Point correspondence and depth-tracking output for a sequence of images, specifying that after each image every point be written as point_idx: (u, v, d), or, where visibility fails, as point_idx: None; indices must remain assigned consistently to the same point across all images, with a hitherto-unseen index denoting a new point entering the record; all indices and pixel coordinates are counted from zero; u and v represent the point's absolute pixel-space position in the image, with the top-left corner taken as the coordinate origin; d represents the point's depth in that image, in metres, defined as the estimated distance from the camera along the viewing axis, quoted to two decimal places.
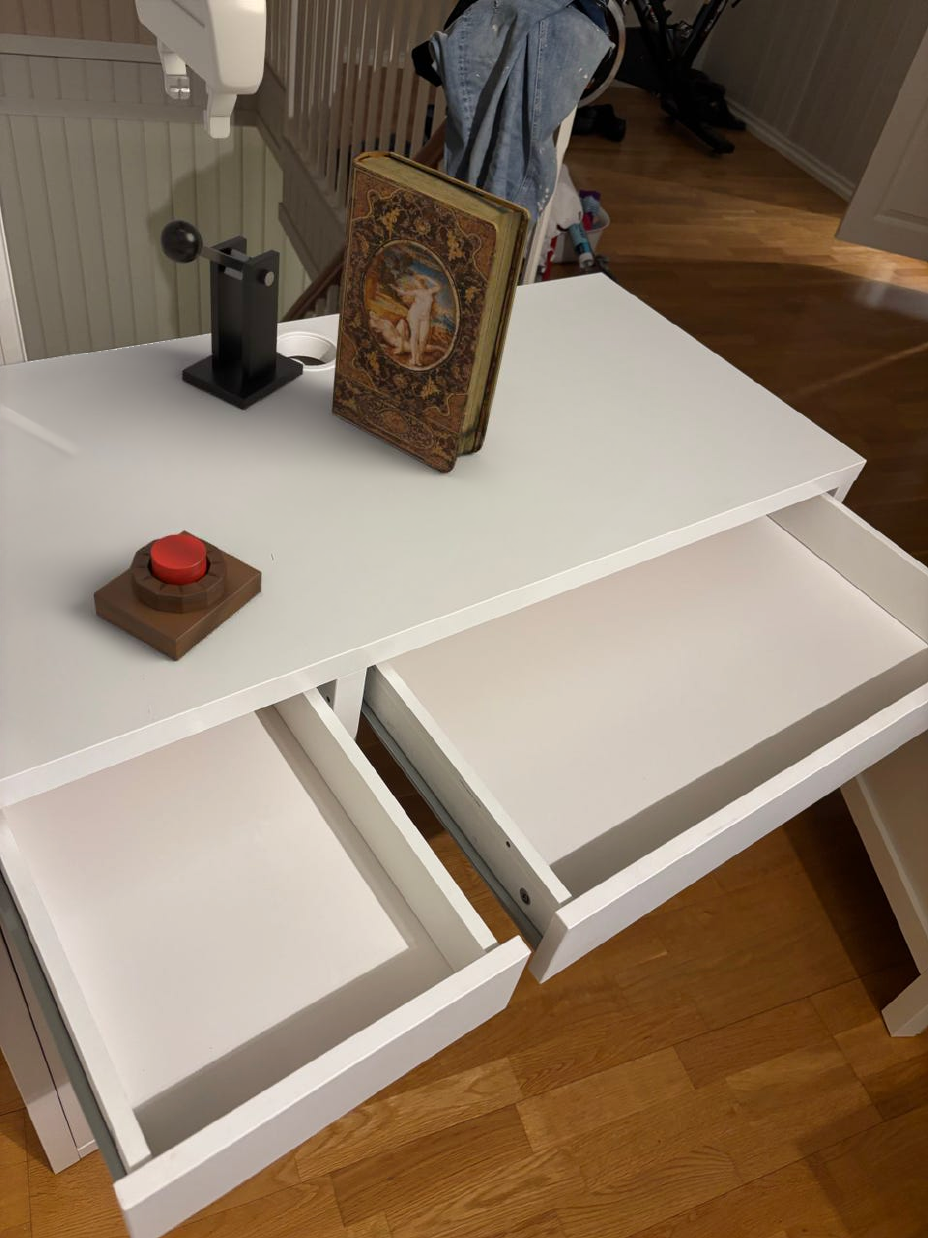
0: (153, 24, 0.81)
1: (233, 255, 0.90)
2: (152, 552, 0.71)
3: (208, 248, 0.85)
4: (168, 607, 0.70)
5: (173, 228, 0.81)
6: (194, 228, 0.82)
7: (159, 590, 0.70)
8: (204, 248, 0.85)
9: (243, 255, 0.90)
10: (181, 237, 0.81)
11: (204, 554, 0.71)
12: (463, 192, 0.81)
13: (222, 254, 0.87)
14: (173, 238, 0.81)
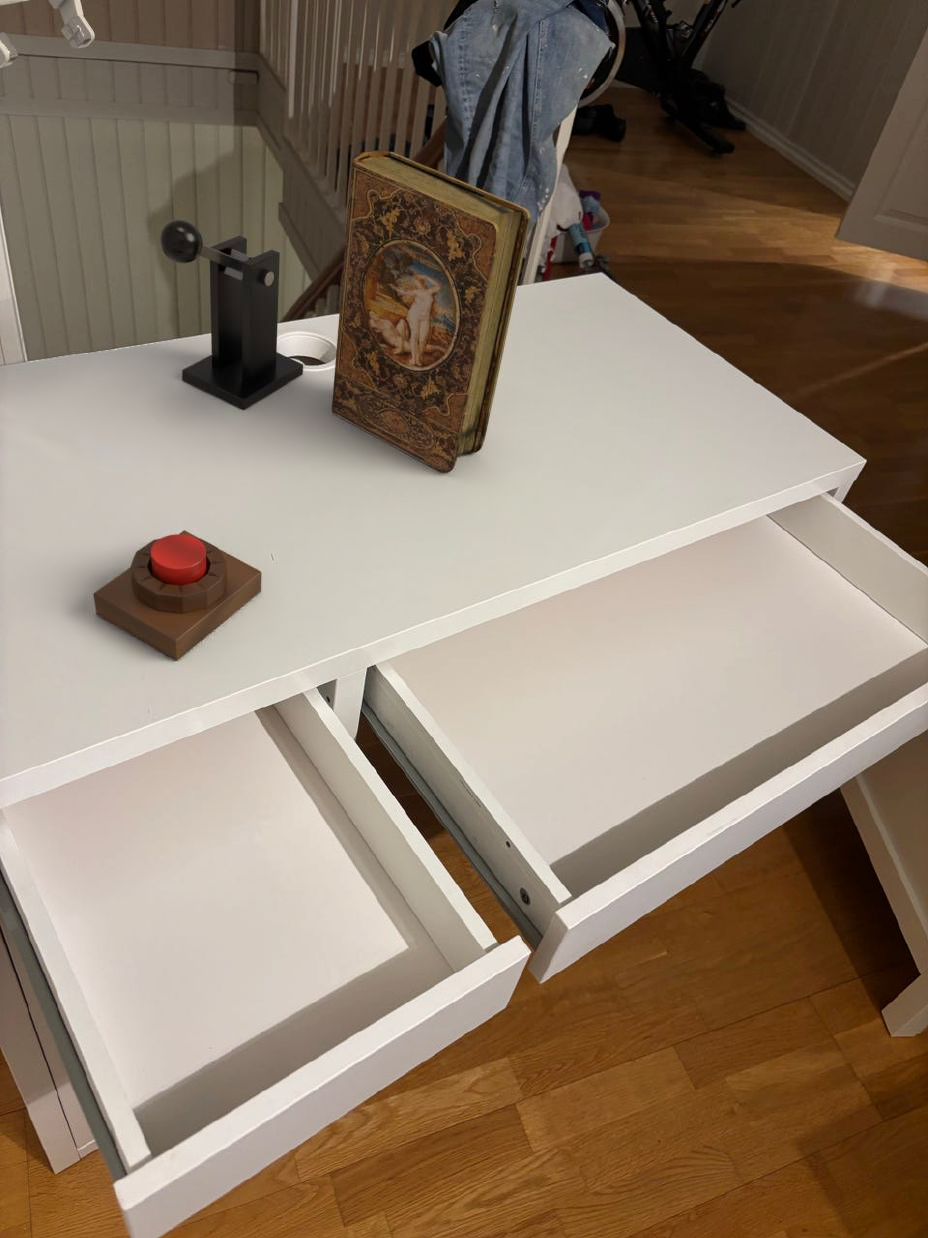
0: None
1: (233, 255, 0.90)
2: (152, 552, 0.71)
3: (208, 248, 0.85)
4: (168, 607, 0.70)
5: (173, 228, 0.81)
6: (194, 228, 0.82)
7: (159, 590, 0.70)
8: (204, 248, 0.85)
9: (243, 255, 0.90)
10: (181, 237, 0.81)
11: (204, 554, 0.71)
12: (463, 192, 0.81)
13: (222, 254, 0.87)
14: (173, 238, 0.81)
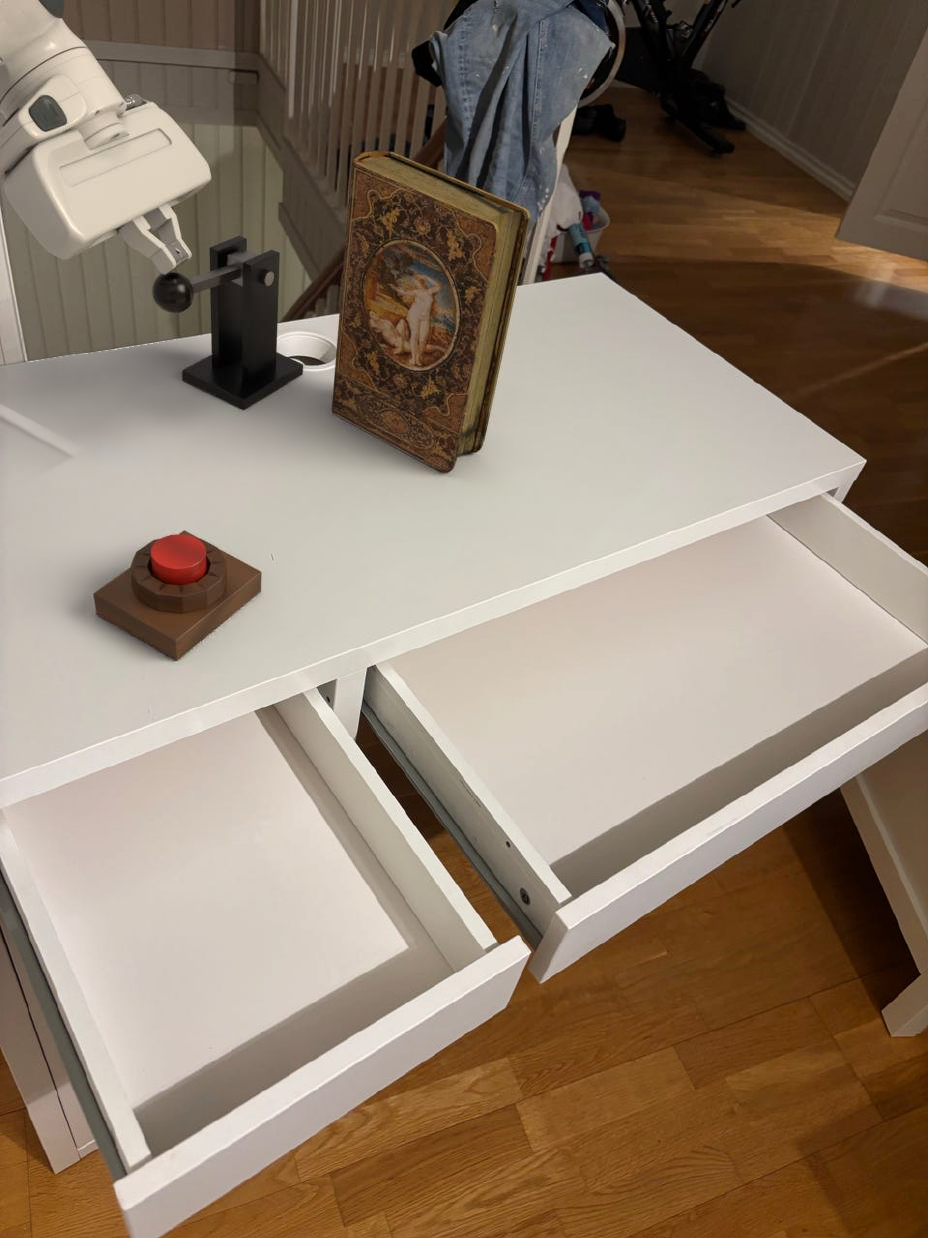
0: None
1: (230, 262, 0.90)
2: (152, 552, 0.71)
3: (201, 282, 0.86)
4: (168, 607, 0.70)
5: (161, 289, 0.83)
6: (180, 280, 0.83)
7: (159, 590, 0.70)
8: (197, 285, 0.86)
9: (239, 262, 0.90)
10: (170, 296, 0.83)
11: (204, 554, 0.71)
12: (463, 192, 0.81)
13: (217, 277, 0.88)
14: (163, 298, 0.83)
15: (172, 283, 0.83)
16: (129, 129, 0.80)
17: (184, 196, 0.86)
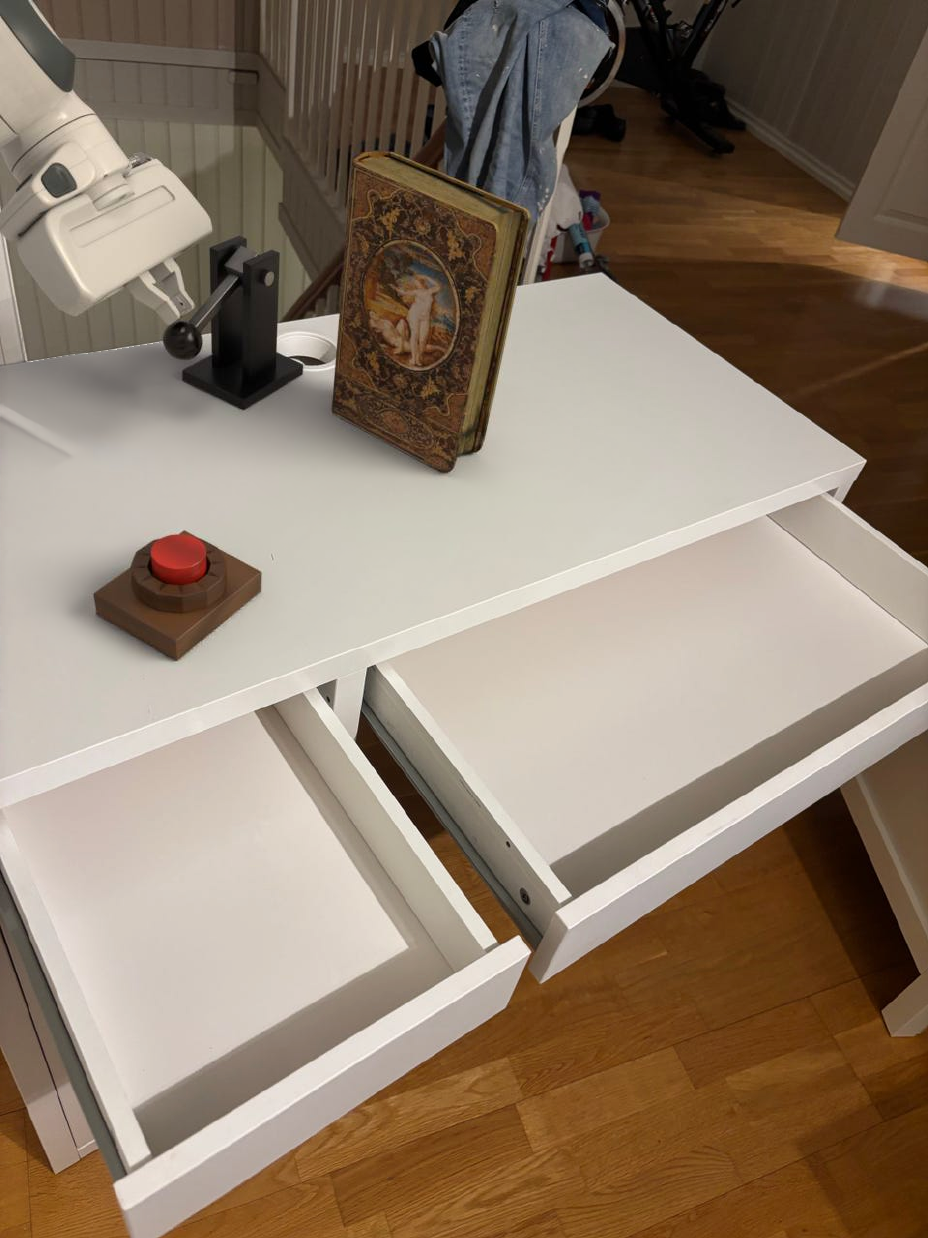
0: None
1: (229, 270, 0.91)
2: (152, 552, 0.71)
3: (205, 316, 0.89)
4: (168, 607, 0.70)
5: (170, 348, 0.87)
6: (185, 335, 0.87)
7: (159, 590, 0.70)
8: (202, 322, 0.89)
9: (236, 271, 0.90)
10: (180, 352, 0.88)
11: (204, 554, 0.71)
12: (463, 192, 0.81)
13: (219, 300, 0.90)
14: (175, 355, 0.88)
15: (178, 341, 0.87)
16: (134, 188, 0.84)
17: (187, 248, 0.90)
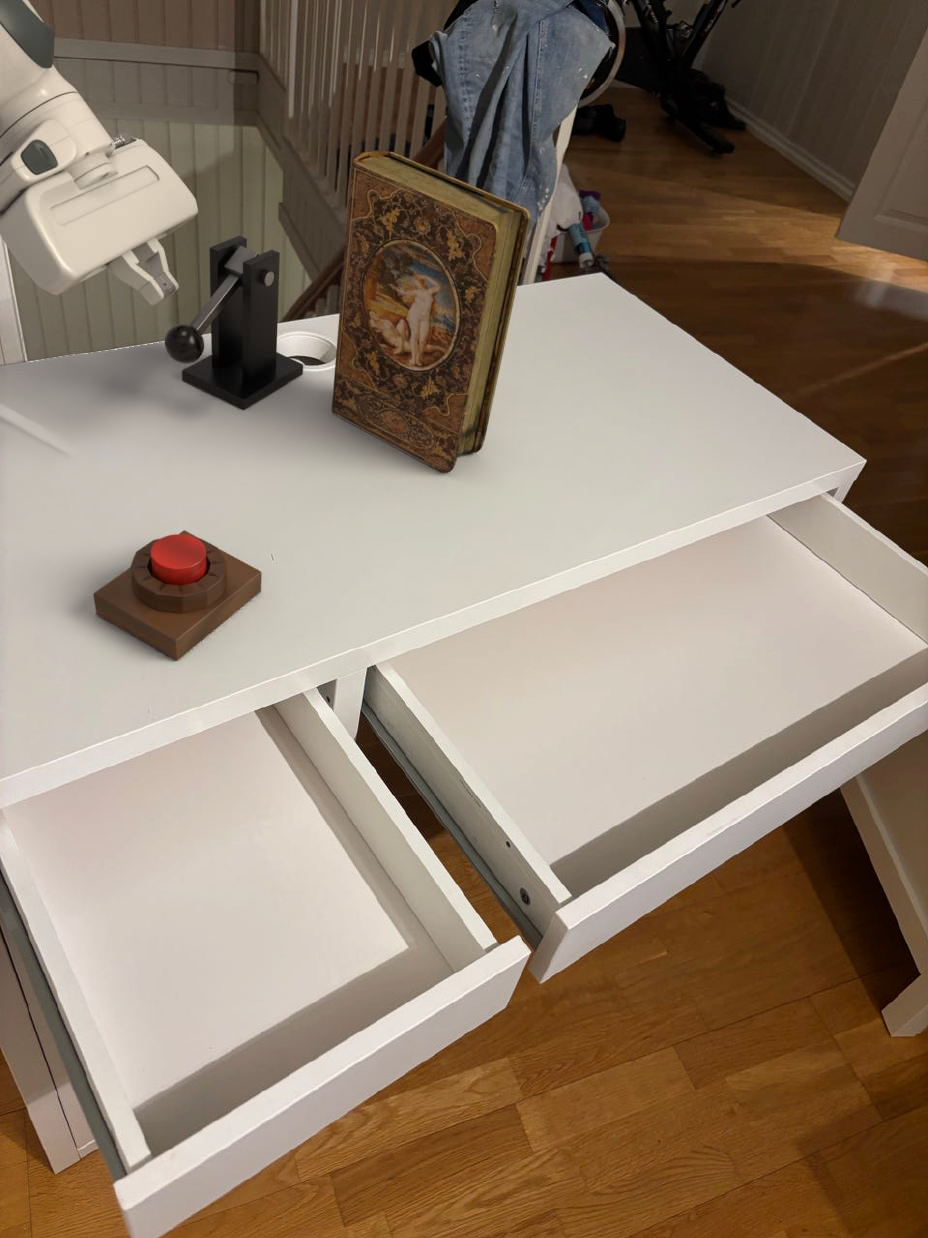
0: None
1: (229, 271, 0.91)
2: (152, 552, 0.71)
3: (206, 319, 0.89)
4: (168, 607, 0.70)
5: (172, 352, 0.88)
6: (186, 339, 0.87)
7: (159, 590, 0.70)
8: (204, 324, 0.89)
9: (236, 272, 0.90)
10: (182, 356, 0.88)
11: (204, 554, 0.71)
12: (463, 192, 0.81)
13: (220, 302, 0.90)
14: (178, 359, 0.88)
15: (179, 345, 0.87)
16: (118, 168, 0.84)
17: (172, 229, 0.90)
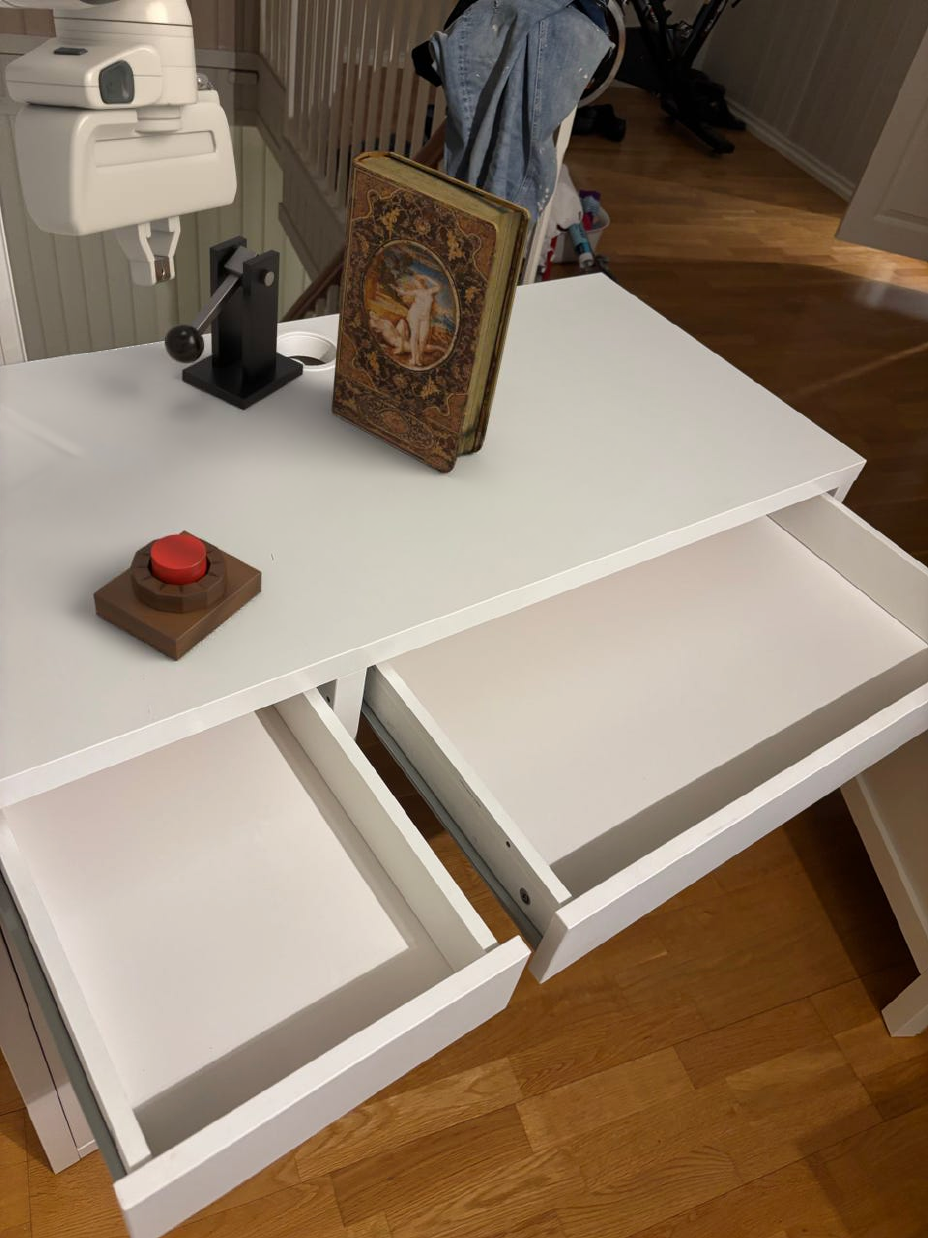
0: None
1: (229, 271, 0.91)
2: (152, 552, 0.71)
3: (206, 319, 0.89)
4: (168, 607, 0.70)
5: (172, 352, 0.88)
6: (186, 339, 0.87)
7: (159, 590, 0.70)
8: (204, 324, 0.89)
9: (236, 272, 0.90)
10: (182, 356, 0.88)
11: (204, 554, 0.71)
12: (463, 192, 0.81)
13: (220, 302, 0.90)
14: (178, 359, 0.88)
15: (179, 345, 0.87)
16: (183, 122, 0.68)
17: None
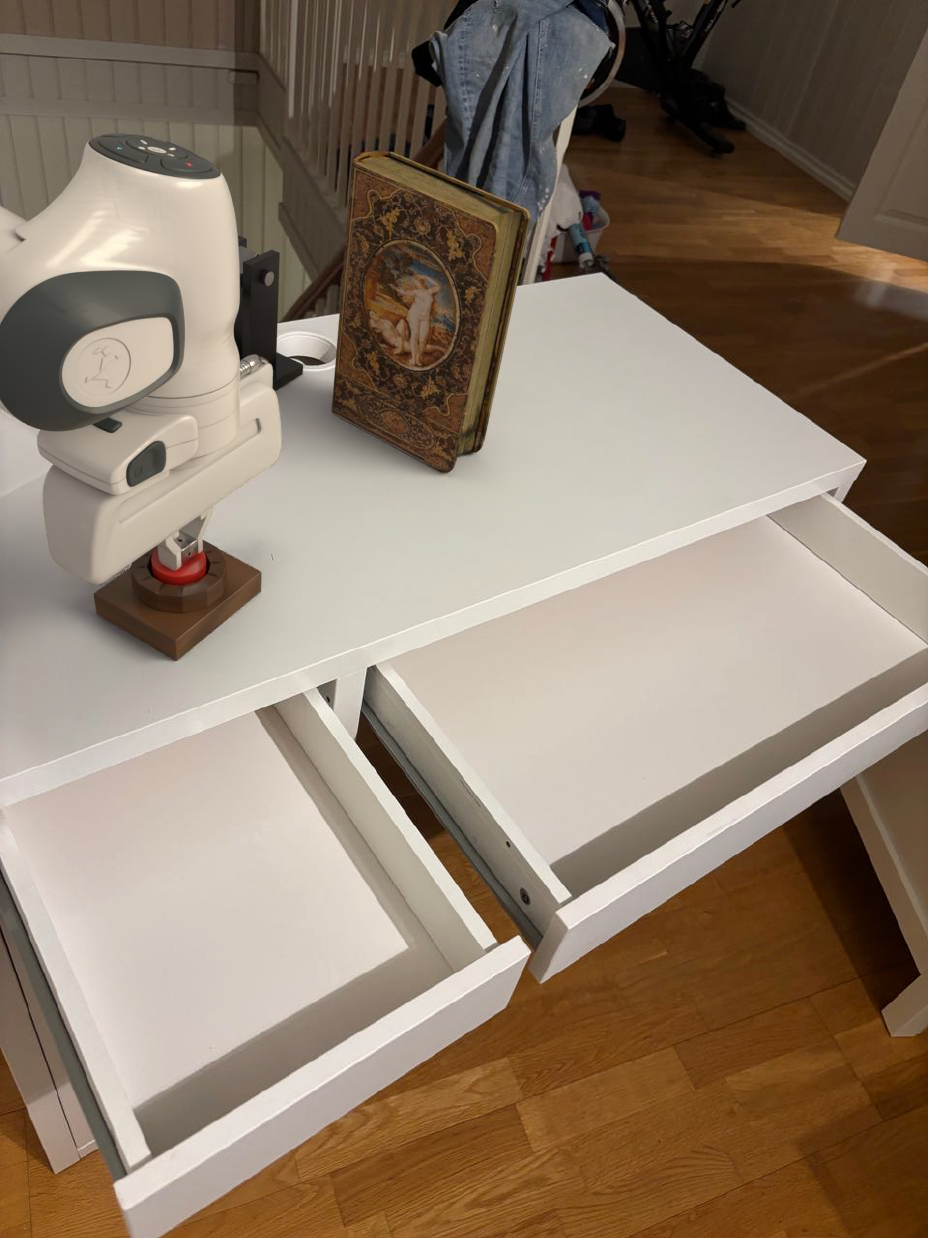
0: None
1: None
2: (153, 560, 0.71)
3: None
4: (168, 607, 0.70)
5: None
6: None
7: (159, 590, 0.70)
8: None
9: None
10: None
11: (204, 562, 0.72)
12: (463, 192, 0.81)
13: None
14: None
15: None
16: None
17: None
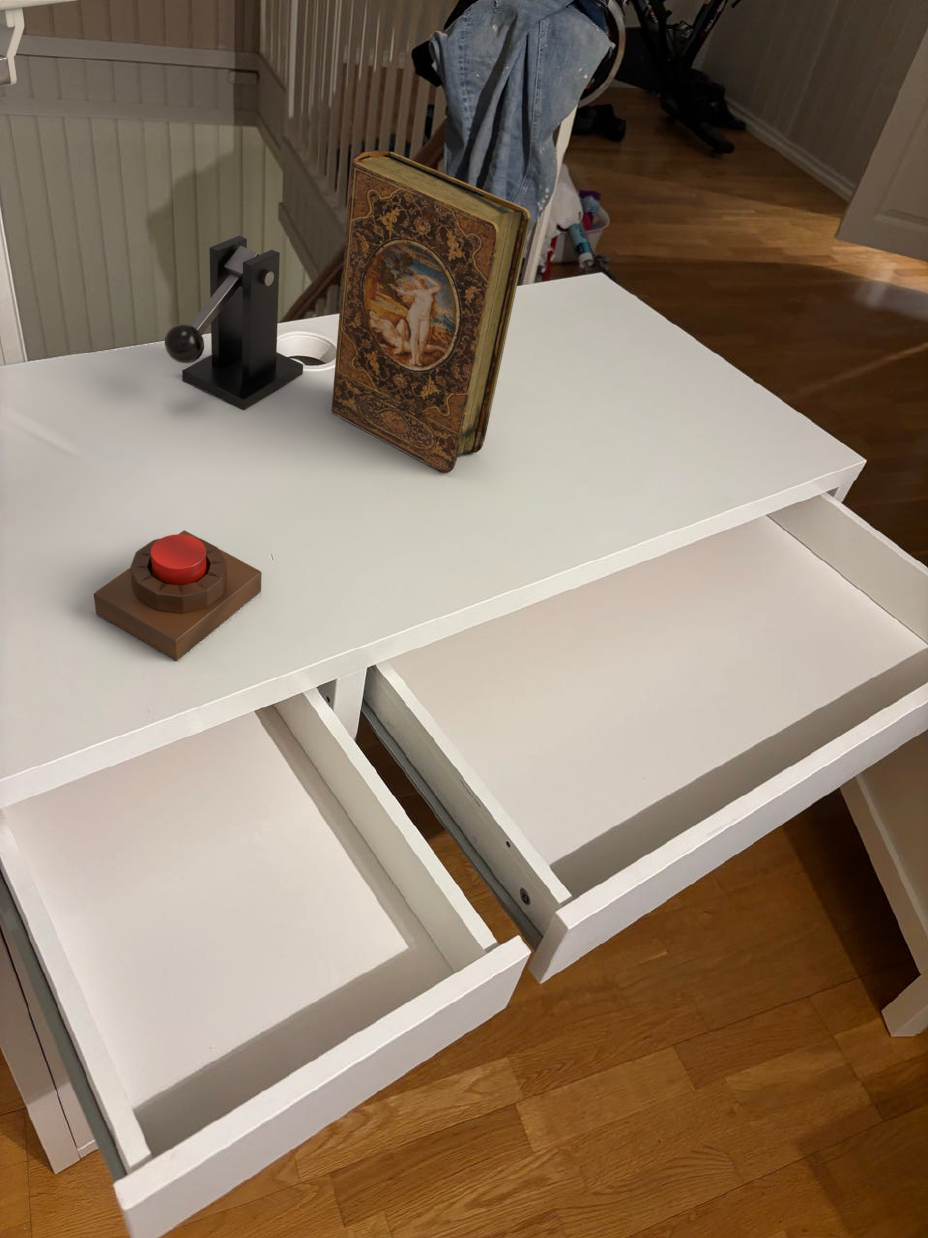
0: None
1: (229, 271, 0.91)
2: (152, 552, 0.71)
3: (206, 319, 0.89)
4: (168, 607, 0.70)
5: (172, 352, 0.88)
6: (186, 339, 0.87)
7: (159, 590, 0.70)
8: (204, 324, 0.89)
9: (236, 272, 0.90)
10: (182, 356, 0.88)
11: (204, 554, 0.71)
12: (463, 192, 0.81)
13: (220, 302, 0.90)
14: (178, 359, 0.88)
15: (179, 345, 0.87)
16: None
17: None
